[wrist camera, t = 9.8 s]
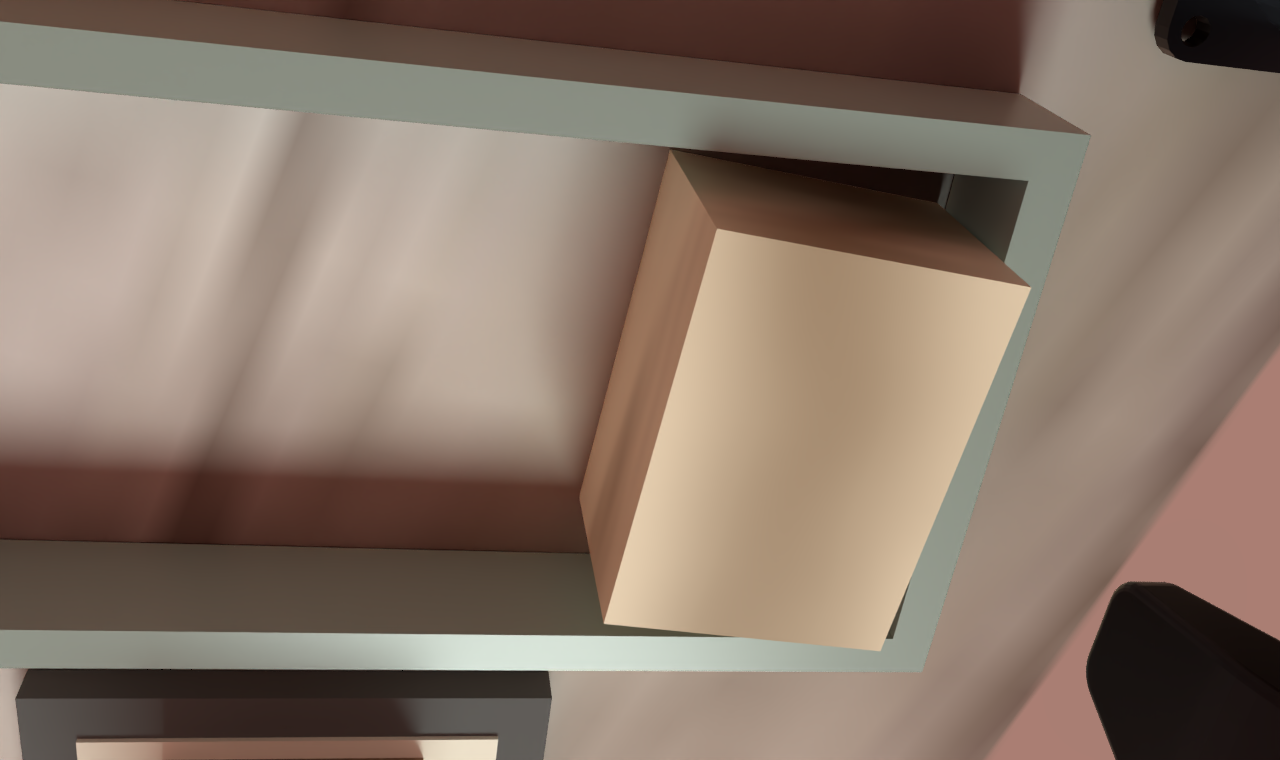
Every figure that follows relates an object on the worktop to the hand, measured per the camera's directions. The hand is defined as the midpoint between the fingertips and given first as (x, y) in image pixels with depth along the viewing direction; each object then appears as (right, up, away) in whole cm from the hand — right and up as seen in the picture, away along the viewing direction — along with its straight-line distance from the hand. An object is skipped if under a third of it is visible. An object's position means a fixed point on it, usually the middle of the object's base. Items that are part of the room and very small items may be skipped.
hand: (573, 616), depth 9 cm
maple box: (+3, +2, +13) cm, 14 cm away
